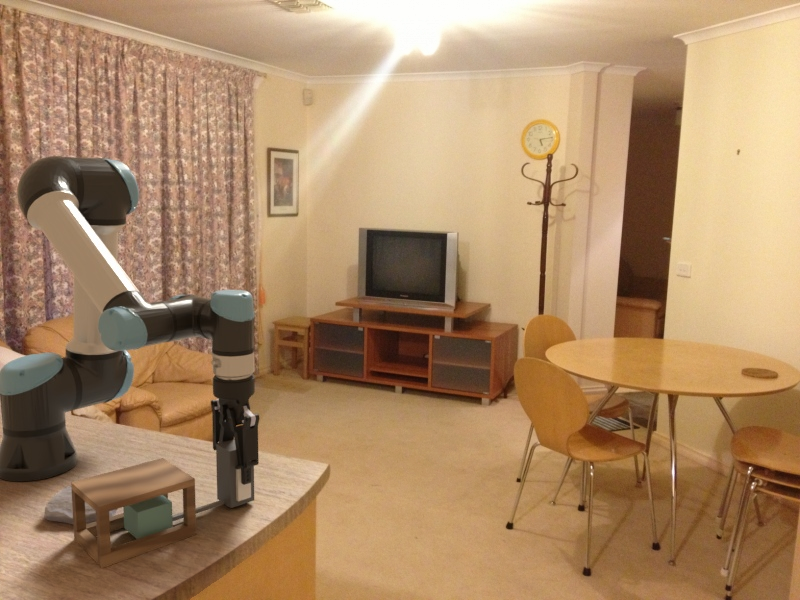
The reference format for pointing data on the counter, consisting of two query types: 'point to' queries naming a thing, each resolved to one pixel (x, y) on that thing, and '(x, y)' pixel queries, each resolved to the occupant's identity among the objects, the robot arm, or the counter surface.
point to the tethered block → (158, 510)
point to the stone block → (67, 508)
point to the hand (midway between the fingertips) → (235, 493)
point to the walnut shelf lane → (122, 492)
